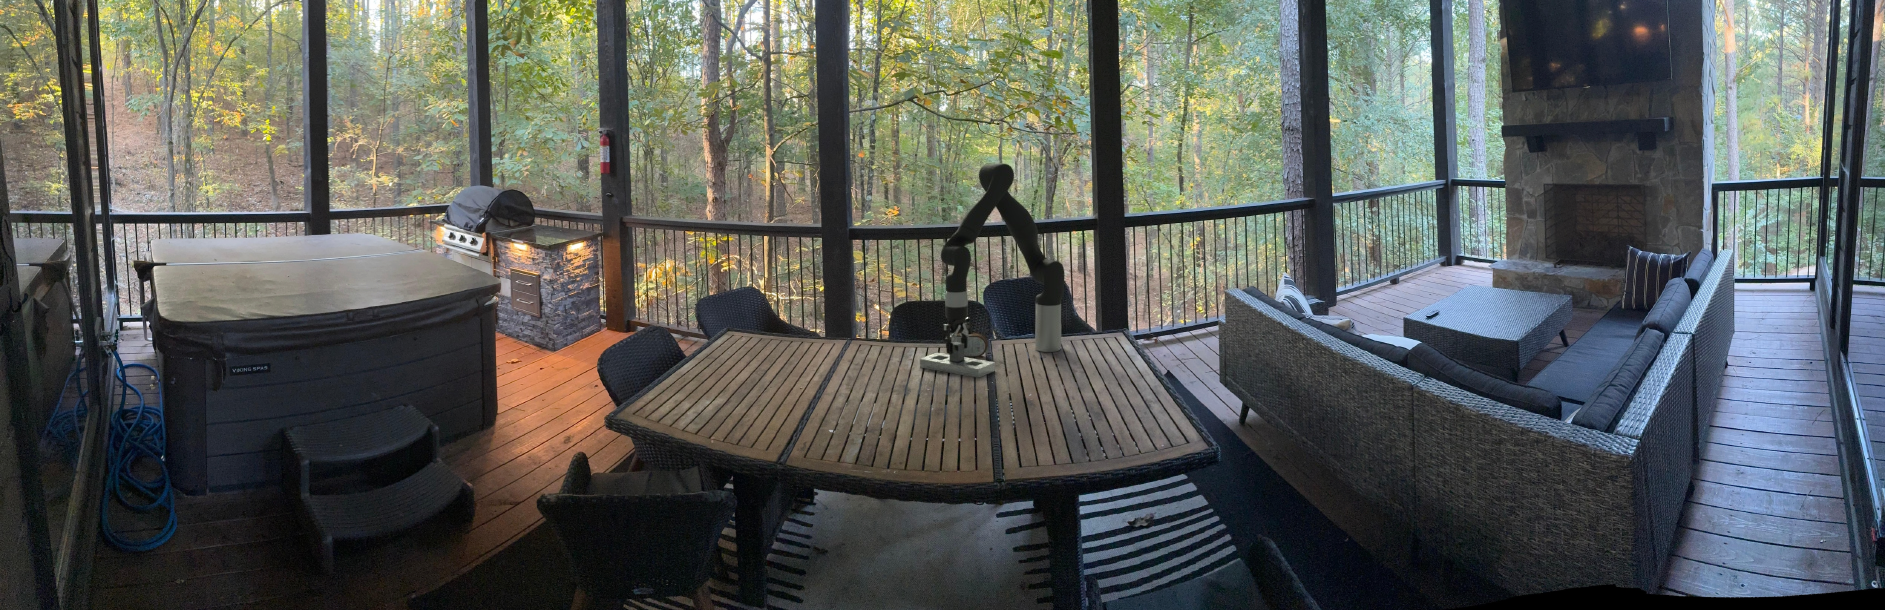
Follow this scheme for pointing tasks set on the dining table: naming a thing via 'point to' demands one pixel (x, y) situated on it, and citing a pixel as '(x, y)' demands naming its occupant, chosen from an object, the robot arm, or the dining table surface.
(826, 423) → the dining table surface
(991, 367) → the rail
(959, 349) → the square peg
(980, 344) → the tin
